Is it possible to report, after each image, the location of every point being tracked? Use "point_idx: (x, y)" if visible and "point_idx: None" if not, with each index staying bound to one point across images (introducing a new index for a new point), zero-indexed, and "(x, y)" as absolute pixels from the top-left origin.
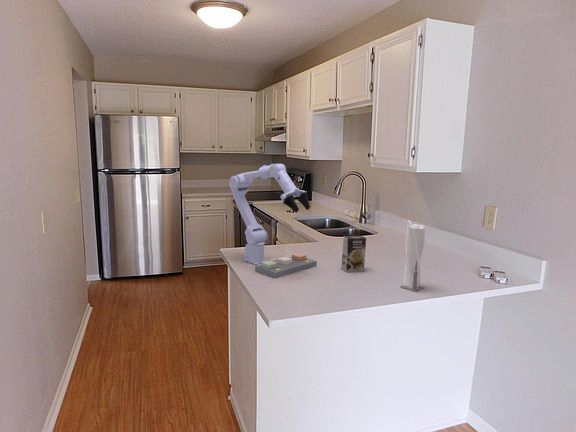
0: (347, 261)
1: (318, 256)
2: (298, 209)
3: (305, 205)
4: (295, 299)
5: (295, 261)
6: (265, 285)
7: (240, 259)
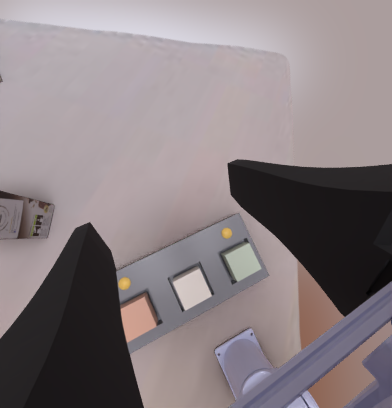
0: (34, 200)
1: None
2: (234, 162)
3: (106, 279)
4: (234, 103)
5: (158, 291)
6: None
7: None
